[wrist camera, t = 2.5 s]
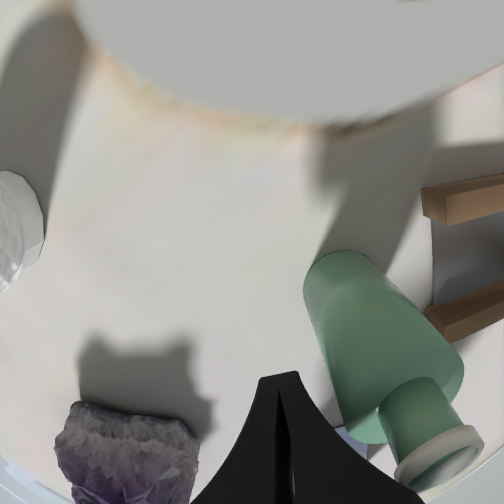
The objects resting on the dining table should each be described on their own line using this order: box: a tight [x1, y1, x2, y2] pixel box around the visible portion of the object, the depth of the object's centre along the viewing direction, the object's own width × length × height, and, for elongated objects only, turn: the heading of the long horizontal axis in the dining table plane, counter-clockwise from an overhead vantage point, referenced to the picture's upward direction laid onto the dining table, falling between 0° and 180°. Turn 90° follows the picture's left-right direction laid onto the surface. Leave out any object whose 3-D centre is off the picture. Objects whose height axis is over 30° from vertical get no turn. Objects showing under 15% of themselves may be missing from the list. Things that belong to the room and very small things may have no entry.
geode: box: [54, 401, 201, 504], centre depth 18 cm, size 20×12×10 cm, turn 159°
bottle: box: [303, 250, 484, 495], centre depth 11 cm, size 4×4×12 cm
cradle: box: [421, 173, 504, 344], centre depth 15 cm, size 9×10×2 cm
